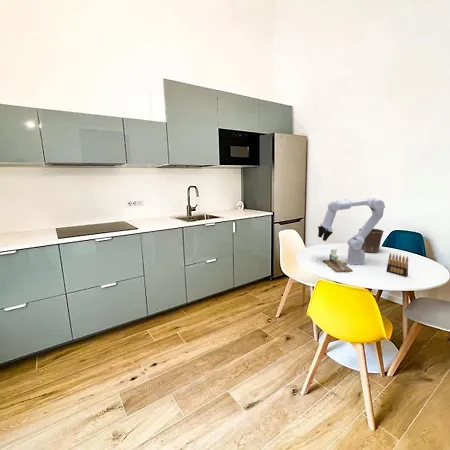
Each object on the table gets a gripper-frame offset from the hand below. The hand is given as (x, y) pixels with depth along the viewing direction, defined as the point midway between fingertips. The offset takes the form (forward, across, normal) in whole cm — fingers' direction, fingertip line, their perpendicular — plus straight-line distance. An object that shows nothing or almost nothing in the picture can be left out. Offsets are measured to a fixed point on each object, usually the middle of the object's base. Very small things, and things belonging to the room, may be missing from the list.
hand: (321, 238), depth 173 cm
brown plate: (+13, +11, +10) cm, 20 cm away
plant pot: (+4, -19, +48) cm, 52 cm away
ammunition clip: (+5, +27, +37) cm, 46 cm away
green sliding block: (+10, +7, +9) cm, 15 cm away
